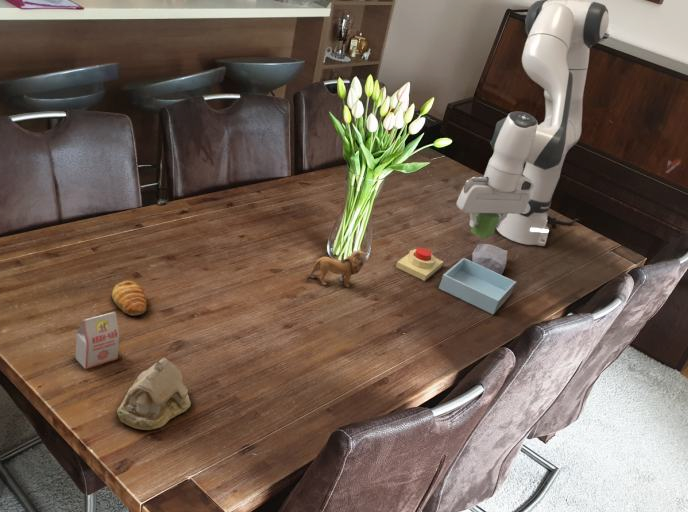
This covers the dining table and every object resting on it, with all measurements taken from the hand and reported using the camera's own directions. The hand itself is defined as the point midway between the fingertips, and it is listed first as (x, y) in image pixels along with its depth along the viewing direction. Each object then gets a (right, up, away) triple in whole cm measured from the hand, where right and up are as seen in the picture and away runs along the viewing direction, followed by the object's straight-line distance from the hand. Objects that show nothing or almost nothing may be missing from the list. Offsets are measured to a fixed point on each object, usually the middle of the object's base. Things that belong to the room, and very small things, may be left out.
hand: (483, 226), depth 199 cm
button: (-15, -7, +9) cm, 19 cm away
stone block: (+5, -7, +23) cm, 25 cm away
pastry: (-83, -22, -35) cm, 93 cm away
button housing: (-16, -10, +10) cm, 21 cm away
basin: (-1, -17, +6) cm, 18 cm away
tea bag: (-84, -34, -53) cm, 105 cm away
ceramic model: (-71, -43, -60) cm, 103 cm away
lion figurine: (-39, -15, -7) cm, 43 cm away
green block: (0, -2, +1) cm, 2 cm away
